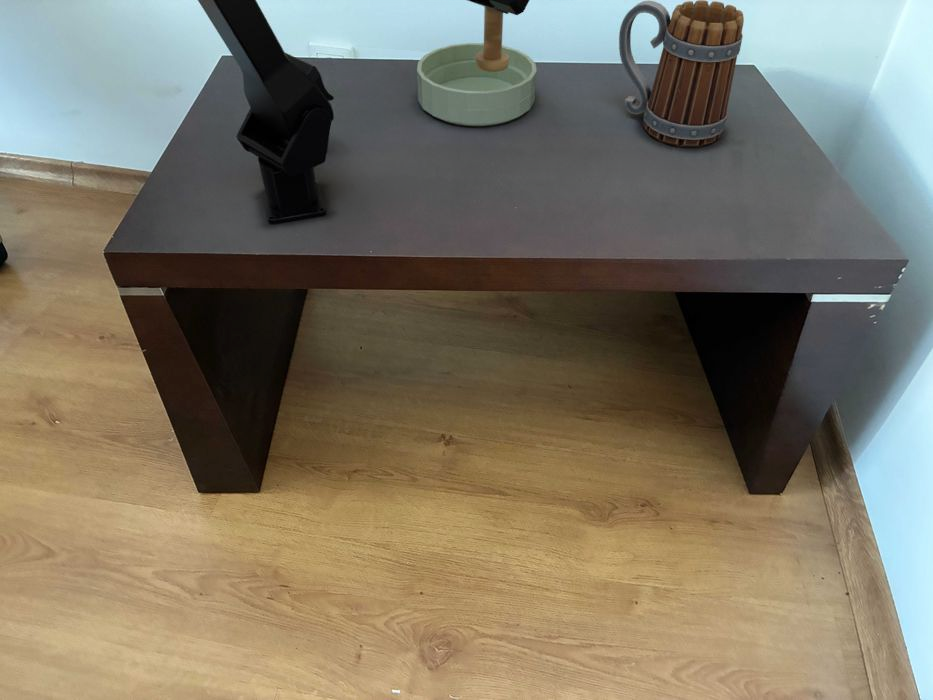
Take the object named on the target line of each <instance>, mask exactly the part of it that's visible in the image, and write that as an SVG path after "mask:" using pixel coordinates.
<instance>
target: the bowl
mask: <svg viewBox="0 0 933 700" xmlns="http://www.w3.org/2000/svg"><path fill="white" fill-rule="evenodd" d="M481 51H484V42H467V43H458V44H451V45H450V44H449V45H447V46H444V47H440V48H436V49H434V50H432V51H430V52H427V53H425V54H424V55H423V56H422V57H421V58H420V59H419V61H418V62H417V67H416V78H417V79H416V80H417V81H416V82H417V100H418V103H419V105H420V106H421V108H422V109H423V110H424V111H425V112H427V113H428V114H429V115H432V117H435V118H437V119H439V120H441V121H443V122H447V123H450V124H454V125H458V126H464V127H465V126H469V127H488V126H495V125H501V124H504V123H508V122H511V121H513V120H515V119H518V118H520V117H521V116H523V115H525V113H527V112H528V111H530V110H531V108H532V106H533V105H534V103H535V98H536V85H537V65H536V62H535V61H534V60H533V58H531V57H530V55H528V54H527V53H524V52H522V51H520V50H519V49H516V48H512V47H510V46H509V47H508V46H505V45H502V51H503V52H506V53H507V54H508V55H509V66H508V68H506V69H505V70H502V71H497V72H489V71H483V70H481V69H479V68H477V67H476V54H477V53H479V52H481Z"/></svg>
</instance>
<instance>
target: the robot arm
mask: <svg viewBox="0 0 933 700" xmlns="http://www.w3.org/2000/svg"><path fill="white" fill-rule="evenodd" d="M197 1H198V3H199V4H200V6H201V8H202V9H203V11H204V13H205V14H206V16H207V17H208V19H209V20H210V22H211V24H212V25H213V27H214V28H215V30H216V32H217V33H218V36H220V39H221V40H222V42H223V43H224V44H225V46H226V47H227V49H228V51H229V52H230V55H231V56H232V57H233V59H234V60H235V62H236V64H237V65H238V66H239V68H240V70H241V73H242V79H243V81H242V82H243V93H244V97H245V98H246V101H247V103H248V106H249V110H248V111H247V114H246V116H245V118H244V120H243V122H242V123H241V126H240V128H239V130H238V132H237V134H236V139H237V141H238V142H239V143H240V145H241V147H242V148H243V149H244V151H246V152H248V153H251V154H253V155H254V156H256V157H257V162H258V165H259V166H258V167H259V169H260V173H261V179H262V183H263V189H264V190H263V191H262V192H261V193H262V198H263V204H264V209H265V214H266V220H267V222H268V223H269V224H277V223H278V224H279V223H283V222H290V221H295V220H301V219H308V218H314V217H319V216H324V215H326V214H327V208H326V205H325V202H324V198H323V195H322V192H321V188H320V185H319V182H317V180H316V173H315V168H316V167H318V166H320V165H322V164H325V162H326V159H327V153H328V148H329V147H328V146H329V141H330V132H331V126H332V122H333V121H334V118H335V114H334V109H333V107H332V103H331V101H333V100H334V98H335V97H334V96H333V95H332V94H331V93H329V92H328V90H327V89H326V87H325V84H324V82H323V81H324V80H323V79H322V75H321V73H320V71H319V70H318V68H317V67H316V66H315V65H313V64H311V63H308V62H307V61H304V60H302V59H300V58H298V57H296V56H293V55H291V54H290V53H287V52H285V50H284V47H282V45H281V43H280V42H279V39H278V37H277V36H276V34H275V32H274V30H273V28H272V27H271V25H270V23H269V21H268V20H267V18H266V16H265V13H264V12H263V10H262V8H261V7H260V5H259V3H258V1H257V0H197ZM466 1H469V2H471V3H474V4H477V5H478V6H481V7H485V6H486V7H489V8H492V9H494V10H497V11H500V12H502V13H503V14H505V15H509V14H512V15H514V16H519V15H521V14H523V13H524V12H525V10H526V8H527V6H528V4H529V2H530V0H466Z"/></svg>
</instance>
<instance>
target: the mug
mask: <svg viewBox="0 0 933 700" xmlns="http://www.w3.org/2000/svg"><path fill="white" fill-rule="evenodd" d="M643 13H644V14H649V15H652V16H653V17H654V18H655V19H656V20H657V23H658V32H657V35H656V36H654V37H653V38H652V39H651V40H650V42H649V43H650V44H651V46H652V49H656V48H658V47H659V46H660V45H662V46H663V47H662V50H661V55H660V58H659V62H658V66H657V69H656V73H655V77H654V81H653V84H652V88H651V87H650V85H649V82H648V81H647V79H646V78H645V75H643V73H642V71H641V70H640V68H639V67H638V65H637V63H636V61H635V59H634V55H633V53H632V45H631V39H632V38H631V37H632V36H631V34H632V27H633V23H634V21H635V19H636V17H637V16H638V15H640V14H643ZM622 19H623V20H622V22H621V24H620V27H619V34H618V51H619V57H620V61H621V64H622V66H623V69H624V71H625V73H626V75H627V76H628V78H629V80H630V81H631V83H632V84H633V86H634V88H635V89H636V90H637V92H638V94H639V98H640V99H639V100H640V102H638V101H637V96H633V95H629V96H628V97H627V98H626V99H625V100H624V104H625V109H626V110H627V111H628V113H630V114H633V115H640V114H642V113H643V122H642V124H643V127H644V129H645V130H646V132H647V133H648V134H649V135H650V136H651V137H652V138H654V139H655V140H657V141H659V142H661V143H664V144H667V145H670V146H675V147H679V148H680V147H681V148H700V147H703V146H708V145H709V144H713V142H715V141H717V140H718V139H720V137H722V135H723V133H724V131H725V129H726V128H725V127H726V125H727V120H728V115H729V111H728V106H729V100H730V96H731V91H732V85H733V81H734V74H735V70H736V65H737V58H738V56H739V55H740V51H741V47H742V41H743V37H744V36H743V27H744V23H745V20H744V19H745V18H744V13H743V11H742V10H740V9H737V7H736V6H734V5H731V4H727V5H725V3H724V2H721V1H717V0H716V1H715V0H713V1H712V2H711V3H710V4H709V1H708V0H696V1H695V2H694V1H691V0H688V1H684V2H683V3H682V4H677V5H676V6H675V8H674V10H673V11H672V13H671V15H670V13H669V11H668V9H667V8H666V7H665V6H664V5H663V4H662V3H659V2H657V1H655V0H643V1H641V2H638V3H637V4H635V5H634V6H633V7H632V8H631V9H630V10H629V11H628V12H627V13H626V14H625V15H624V18H622Z"/></svg>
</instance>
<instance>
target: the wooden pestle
mask: <svg viewBox="0 0 933 700" xmlns="http://www.w3.org/2000/svg"><path fill="white" fill-rule="evenodd" d="M483 7H484V10H483V11H484V13H483V43H484V51H481V52H479V53H477V54H476V67H477V68H479V69H481V70H483V71H489V72H497V71H502V70H505V69H506V68H508V66H509V55H508V54H507V53H506V52H503V51H502V46H503V31H504V30H503V29H504V13H502V12H500V11H497V10H494V9H492V8H489V7H486V6H483Z"/></svg>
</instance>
